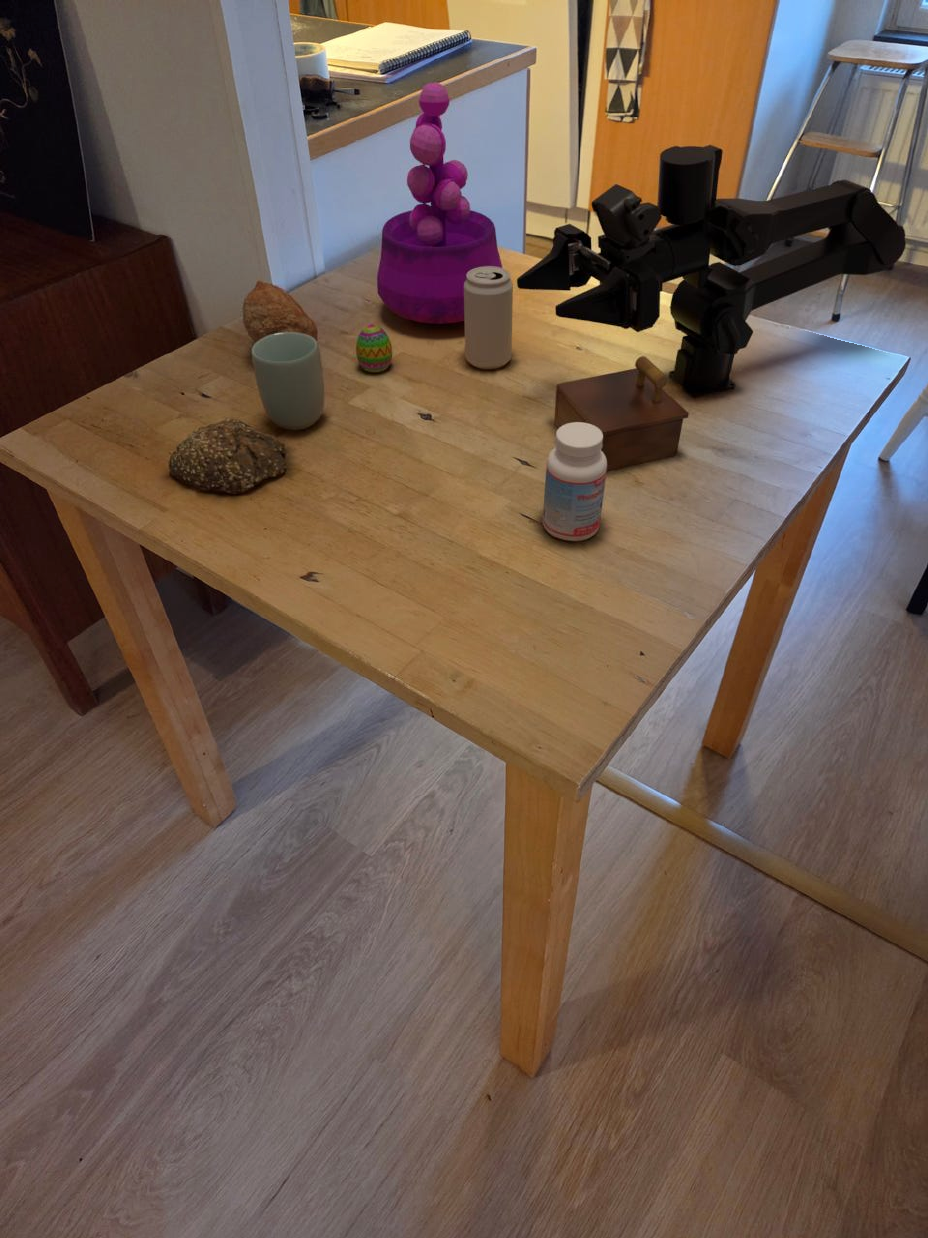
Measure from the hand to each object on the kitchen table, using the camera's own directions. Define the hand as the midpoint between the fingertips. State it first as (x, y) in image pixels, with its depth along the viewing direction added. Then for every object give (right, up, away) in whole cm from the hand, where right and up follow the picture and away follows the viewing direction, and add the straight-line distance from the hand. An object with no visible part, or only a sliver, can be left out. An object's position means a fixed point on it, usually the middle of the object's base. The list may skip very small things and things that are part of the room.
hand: (536, 296), depth 93 cm
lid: (+10, -10, +6) cm, 16 cm away
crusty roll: (-33, +2, +26) cm, 42 cm away
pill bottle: (+4, -25, -2) cm, 26 cm away
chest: (+10, -14, +10) cm, 19 cm away
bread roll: (-35, -17, +7) cm, 40 cm away
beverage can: (-5, 0, +24) cm, 25 cm away
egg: (-20, -1, +24) cm, 31 cm away
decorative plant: (-11, +11, +36) cm, 39 cm away
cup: (-29, -11, +14) cm, 34 cm away
